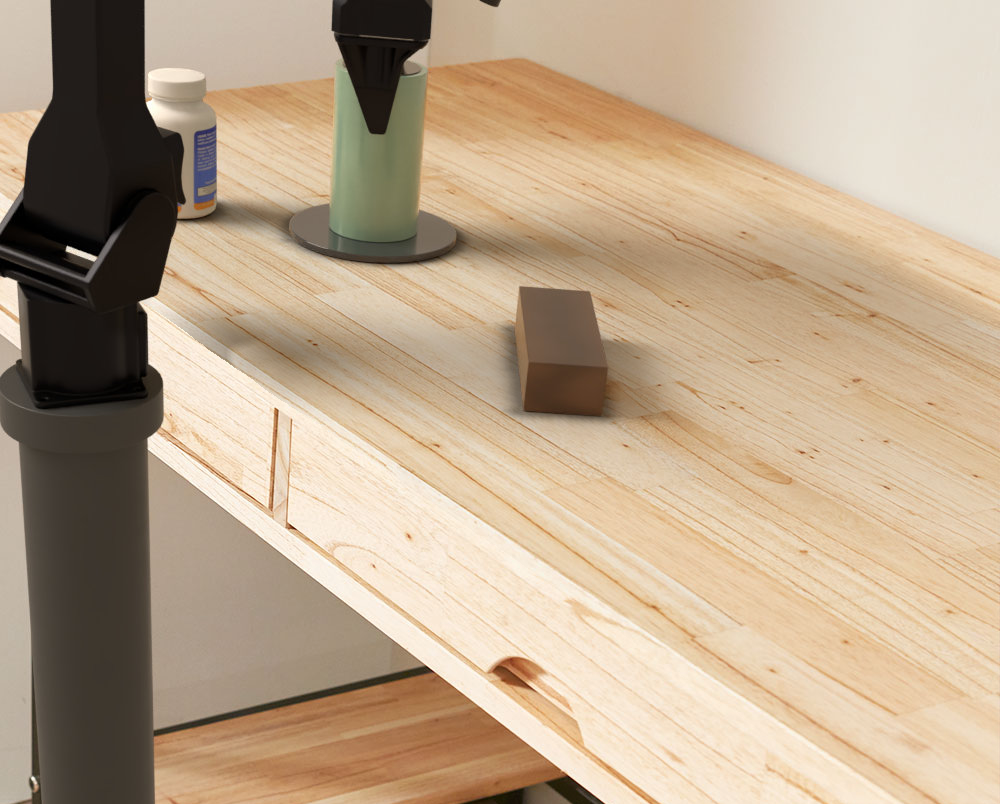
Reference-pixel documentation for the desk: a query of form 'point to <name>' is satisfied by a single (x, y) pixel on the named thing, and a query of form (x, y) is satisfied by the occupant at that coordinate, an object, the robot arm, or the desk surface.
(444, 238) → the coaster
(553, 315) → the prop block
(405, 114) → the cup
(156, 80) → the pill bottle
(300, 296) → the desk surface
